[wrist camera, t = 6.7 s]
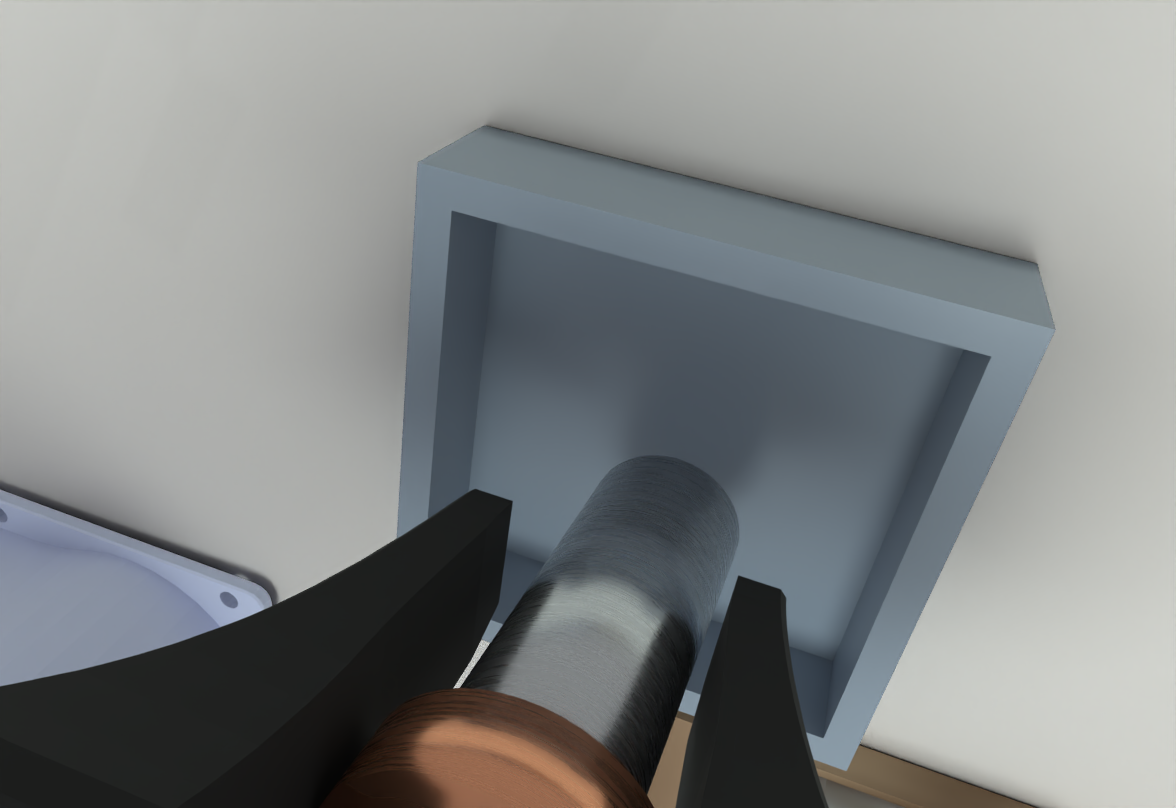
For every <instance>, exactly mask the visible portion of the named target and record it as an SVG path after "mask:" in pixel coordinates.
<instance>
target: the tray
mask: <svg viewBox="0 0 1176 808" xmlns="http://www.w3.org/2000/svg"><path fill="white" fill-rule="evenodd" d="M1055 330H1056V329H1055V326H1054V322H1053V319H1052V315H1051V311H1050V308H1049V304H1048V301H1047V297H1046V294H1045V290H1044V286H1043V283H1042V279H1041V276H1040V272H1039V268H1038V265H1037V264H1035V263H1031V262H1027V261H1023V260H1019V259H1015V258H1011V257H1007V256H1003V255H999V254H995V253H991V252H987V251H983V250H979V249H975V248H971V247H967V246H963V245H959V244H955V243H951V242H947V241H943V240H939V239H935V238H931V237H927V236H923V235H920V234H916V233H912V232H908V231H904V230H900V229H896V228H892V227H888V226H884V225H880V224H876V223H872V222H868V221H864V220H860V219H856V218H852V217H848V216H844V215H840V214H836V213H832V212H828V211H824V210H820V209H816V208H812V207H808V206H804V205H800V204H796V203H792V202H788V201H784V200H780V199H776V198H772V197H768V196H764V195H760V194H756V193H752V192H748V191H744V190H740V189H736V188H732V187H728V186H724V185H720V184H716V183H712V182H708V181H704V180H700V179H696V178H692V177H688V176H684V175H680V174H676V173H672V172H668V171H664V170H660V169H656V168H652V167H648V166H644V165H640V164H636V163H632V162H628V161H624V160H620V159H616V158H612V157H608V156H604V155H600V154H596V153H592V152H588V151H584V150H580V149H576V148H572V147H568V146H564V145H560V144H556V143H552V142H548V141H544V140H540V139H536V138H532V137H529V136H525V135H521V134H517V133H513V132H509V131H505V130H501V129H497V128H493V127H489V126H485V125H484V126H482V127H481V128H479V129H477V130H475V131H473V132H472V133H470V134H468V135H466V136H464V137H463V138H461V139H459V140H457V141H455V142H454V143H452V144H450V145H448V146H446V147H445V148H443V149H441V150H439V151H437V152H436V153H434V154H432V155H430V156H428V157H427V158H425V159H423V160H421V161H419V162H418V167H417V185H416V203H415V221H414V239H413V257H412V275H411V293H410V311H409V329H408V347H407V365H406V383H405V401H404V419H403V437H402V455H401V473H400V491H399V509H398V527H397V538H399V537H400V536H402V535H403V534H405V533H407V532H408V531H410V530H411V529H413V528H414V527H416V526H417V525H419V524H420V523H422V522H424V521H425V520H427V519H428V518H430V517H431V516H433V515H434V514H436V513H437V512H439V511H440V510H442V509H443V508H445V507H446V506H448V505H449V504H451V503H452V502H454V501H455V500H457V499H458V498H460V497H461V496H463V495H464V494H466V493H467V492H469V491H471V490H473V489H478V490H481V491H484V492H487V493H490V494H493V495H496V496H499V497H502V498H505V499H508V500H511V501H513V505H512V512H511V519H510V526H509V534H508V541H507V548H506V555H505V563H504V570H503V577H502V584H501V591H500V599H499V604H498V606H497V608H496V610H495V612H494V614H493V616H492V618H491V620H490V623H489V625H488V627H487V629H486V631H485V633H484V635H483V637H482V640H485V641H487V642H490V643H491V641H492V640H493V638H494V637H495V636H496V634H497V633H498V631H499V630H500V628H501V627H502V625H503V624H504V622H505V621H506V619H507V618H508V616H509V615H510V614H511V612H512V611H513V609H514V608H515V606H516V605H517V603H518V602H519V600H520V599H521V597H522V596H523V594H524V593H525V592H526V590H527V589H528V587H529V586H530V584H531V583H532V581H533V580H534V578H535V577H536V575H537V574H538V572H539V571H540V569H541V568H542V567H543V565H544V564H545V562H546V561H547V559H548V558H549V556H550V555H551V553H552V552H553V550H554V549H555V547H556V546H557V545H558V543H559V542H560V540H561V539H562V537H563V536H564V534H565V533H566V531H567V530H568V528H569V527H570V525H571V524H572V523H573V521H574V520H575V518H576V517H577V515H578V514H579V512H580V511H581V509H582V508H583V506H584V505H585V503H586V502H587V500H588V499H589V498H590V496H591V495H592V493H593V492H594V490H595V489H596V487H597V486H598V484H599V483H600V481H601V480H602V479H603V477H604V476H605V475H606V474H607V473H608V472H609V471H610V470H611V469H612V468H614V467H615V466H617V465H618V464H620V463H622V462H624V461H626V460H629V459H632V458H635V457H640V456H646V455H660V456H668V457H673V458H677V459H680V460H683V461H686V462H688V463H690V464H693V465H694V466H696V467H698V468H700V469H701V470H703V471H704V472H706V473H707V474H708V475H710V476H711V477H712V478H713V479H714V480H715V481H716V482H717V483H718V484H719V485H720V486H721V487H722V488H723V489H724V491H725V492H726V494H727V495H728V497H729V498H730V500H731V502H732V504H733V506H734V508H735V511H736V514H737V517H738V522H739V534H740V535H739V543H738V547H737V550H736V553H735V556H734V559H733V562H732V564H731V567H730V570H729V573H728V575H727V578H726V581H725V584H724V586H723V589H722V592H721V594H720V597H719V600H718V603H717V605H716V608H715V611H714V614H713V616H712V619H711V622H710V625H709V627H708V630H707V633H706V636H705V638H704V641H703V644H702V646H701V649H700V652H699V655H698V657H697V660H696V663H695V666H694V668H693V671H692V674H691V677H690V679H689V682H688V685H687V688H686V690H685V693H684V696H683V699H682V701H681V704H680V707H679V709H678V711H681V712H684V713H687V714H689V715H692V716H695V713H696V709H697V706H698V702H699V699H700V695H701V692H702V688H703V685H704V681H705V678H706V675H707V671H708V668H709V665H710V662H711V659H712V656H713V653H714V650H715V646H716V643H717V640H718V637H719V634H720V631H721V628H722V624H723V621H724V618H725V615H726V612H727V609H728V606H729V603H730V599H731V596H732V593H733V590H734V587H735V584H736V581H737V577H738V575H739V576H742V577H745V578H748V579H751V580H754V581H757V582H760V583H763V584H766V585H769V586H773V587H776V588H779V589H781V590H782V592H783V593H784V595H785V597H786V617H787V631H788V640H789V648H790V655H791V662H792V668H793V674H794V680H795V685H796V689H797V694H798V699H799V703H800V708H801V713H802V717H803V722H804V726H805V730H806V734H807V738H808V741H809V745H810V749H811V752H812V756H813V759H814V760H817V761H819V762H822V763H825V764H828V765H831V766H833V767H836V768H839V769H842V770H844V771H847V769H848V767H849V765H850V763H851V761H852V759H853V756H854V754H855V752H856V750H857V748H858V746H859V744H860V742H861V740H862V737H863V735H864V733H865V731H866V729H867V727H868V725H869V723H870V721H871V718H872V716H873V714H874V712H875V710H876V708H877V706H878V704H879V702H880V699H881V697H882V695H883V693H884V691H885V689H886V687H887V685H888V683H889V680H890V678H891V676H892V674H893V672H894V670H895V668H896V666H897V664H898V661H899V659H900V657H901V655H902V653H903V651H904V649H905V647H906V645H907V642H908V640H909V638H910V636H911V634H912V632H913V630H914V628H915V626H916V623H917V621H918V619H919V617H920V615H921V613H922V611H923V609H924V607H925V604H926V602H927V600H928V598H929V596H930V594H931V592H932V590H933V588H934V585H935V583H936V581H937V579H938V577H939V575H940V573H941V571H942V569H943V566H944V564H945V562H946V560H947V558H948V556H949V554H950V552H951V550H952V547H953V545H954V543H955V541H956V539H957V537H958V535H959V533H960V531H961V528H962V526H963V524H964V522H965V520H966V518H967V516H968V514H969V512H970V509H971V507H972V505H973V503H974V501H975V499H976V497H977V495H978V493H979V490H980V488H981V486H982V484H983V482H984V480H985V478H986V476H987V473H988V471H989V469H990V467H991V465H992V463H993V461H994V459H995V457H996V454H997V452H998V450H999V448H1000V446H1001V444H1002V442H1003V440H1004V438H1005V435H1006V433H1007V431H1008V429H1009V427H1010V425H1011V423H1012V421H1013V419H1014V416H1015V414H1016V412H1017V410H1018V408H1019V406H1020V404H1021V402H1022V400H1023V397H1024V395H1025V393H1026V391H1027V389H1028V387H1029V385H1030V383H1031V381H1032V378H1033V376H1034V374H1035V372H1036V370H1037V368H1038V366H1039V364H1040V362H1041V359H1042V357H1043V355H1044V353H1045V351H1046V349H1047V347H1048V345H1049V343H1050V340H1051V338H1052V336H1053V334H1054V332H1055Z"/></svg>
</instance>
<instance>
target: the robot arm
mask: <svg viewBox="0 0 1176 808" xmlns="http://www.w3.org/2000/svg"><path fill="white" fill-rule="evenodd" d="M512 505H513V501H511V500H508V499H505V498H502V497H499V496H496V495H493V494H490V493H487V492H484V491H481V490H478V489H473V490H471V491H469V492H467V493H466V494H464V495H463V496H461V497H460V498H458V499H457V500H455V501H454V502H452V503H451V504H449V505H448V506H446V507H445V508H443V509H442V510H440V511H439V512H437V513H436V514H434V515H433V516H431V517H430V518H428V519H427V520H425V521H424V522H422V523H420V524H419V525H417V526H416V527H414V528H413V529H411V530H410V531H408V532H407V533H405V534H403V535H402V536H400V537H399V538H397V539H395V540H394V541H392V542H390V543H389V544H387V545H385V546H384V547H382V548H381V549H379V550H377V551H376V552H374V553H372V554H371V555H369V556H367V557H366V558H364V559H362V560H361V561H359V562H357V563H355V564H353V565H352V566H350V567H348V568H346V569H344V570H342V571H341V572H339V573H337V574H335V575H333V576H331V577H329V578H328V579H326V580H324V581H322V582H320V583H318V584H317V585H315V586H313V587H311V588H309V589H307V590H305V591H303V592H301V593H299V594H297V595H295V596H293V597H291V598H288V599H286V600H284V601H282V602H280V603H278V604H275V605H273V606H272V602H271V598H270V596H269V594H268V593H267V591H266V590H265V589H264V588H262V587H261V586H259V585H258V584H256V583H253V582H250V581H248V580H245V579H242V578H240V577H237V576H234V575H231V574H229V573H226V572H223V571H220V570H218V569H215V568H212V567H210V566H207V565H204V564H201V563H199V562H196V561H193V560H191V559H188V558H185V557H182V556H180V555H177V554H174V553H171V552H169V551H166V550H163V549H161V548H158V547H155V546H152V545H150V544H147V543H144V542H142V541H139V540H136V539H133V538H131V537H128V536H125V535H122V534H120V533H117V532H114V531H112V530H109V529H106V528H103V527H101V526H98V525H95V524H92V523H90V522H87V521H84V520H82V519H79V518H76V517H73V516H71V515H68V514H65V513H63V512H60V511H57V510H54V509H52V508H49V507H46V506H43V505H41V504H38V503H35V502H33V501H30V500H27V499H24V498H22V497H19V496H16V495H14V494H11V493H8V492H5V491H3V490H0V808H319V807H320V805H321V804H322V803H323V801H324V800H325V798H326V797H327V796H328V794H329V793H330V792H331V790H332V789H333V788H334V786H335V785H336V784H337V782H338V781H339V780H340V779H341V777H342V776H343V775H344V773H345V772H346V771H347V769H348V768H349V767H350V765H351V764H352V763H353V761H354V760H355V759H356V757H357V756H358V755H359V753H360V752H361V751H362V749H363V748H364V747H365V745H366V744H367V743H368V741H369V740H370V739H371V737H372V736H373V735H374V733H375V732H376V731H377V729H378V728H379V727H380V725H381V724H382V723H383V721H384V720H385V719H386V717H387V716H388V715H389V714H390V713H391V712H392V711H394V710H395V709H396V708H397V707H398V706H399V705H401V704H403V703H404V702H406V701H408V700H409V699H411V698H414V697H416V696H419V695H422V694H424V693H428V692H432V691H437V690H442V689H453V687H454V686H455V684H456V683H457V681H458V680H459V678H460V677H461V675H462V674H463V672H464V670H465V669H466V667H467V666H468V664H469V662H470V661H471V659H472V657H473V655H474V653H475V651H476V649H477V647H478V645H479V643H480V641H481V639H482V637H483V635H484V633H485V631H486V629H487V627H488V625H489V623H490V620H491V618H492V616H493V614H494V612H495V610H496V608H497V606H498V604H499V599H500V591H501V584H502V577H503V570H504V563H505V555H506V548H507V541H508V534H509V526H510V519H511V512H512ZM675 808H829V807H828V804H827V801H826V798H825V795H824V792H823V789H822V786H821V783H820V780H819V776H818V773H817V770H816V766H815V763H814V759H813V756H812V752H811V749H810V745H809V741H808V738H807V734H806V730H805V726H804V722H803V717H802V713H801V708H800V703H799V699H798V694H797V689H796V685H795V680H794V674H793V668H792V662H791V655H790V648H789V640H788V631H787V617H786V597H785V595H784V593H783V592H782V590H781V589H779V588H776V587H773V586H769V585H766V584H763V583H760V582H757V581H754V580H751V579H748V578H745V577H742V576H739V575H738V577H737V581H736V584H735V587H734V590H733V593H732V596H731V599H730V603H729V606H728V609H727V612H726V615H725V618H724V621H723V624H722V628H721V631H720V634H719V637H718V640H717V643H716V646H715V650H714V653H713V656H712V659H711V662H710V665H709V668H708V671H707V675H706V678H705V681H704V685H703V688H702V692H701V695H700V699H699V702H698V706H697V709H696V713H695V716H694V719H693V723H692V726H691V730H690V733H689V737H688V741H687V746H686V751H685V757H684V762H683V768H682V773H681V779H680V784H679V790H678V795H677V801H676V807H675Z"/></svg>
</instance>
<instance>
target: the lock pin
mask: <svg viewBox="0 0 1176 808" xmlns="http://www.w3.org/2000/svg"><path fill="white" fill-rule="evenodd" d="M739 535H740V534H739V522H738V517H737V514H736V511H735V508H734V506H733V504H732V502H731V500H730V498H729V497H728V495H727V494H726V492H725V491H724V489H723V488H722V487H721V486H720V485H719V484H718V483H717V482H716V481H715V480H714V479H713V478H712V477H711V476H710V475H708V474H707V473H706V472H704V471H703V470H701V469H700V468H698V467H696V466H694V465H693V464H690V463H688V462H686V461H683V460H680V459H677V458H673V457H668V456H660V455H646V456H640V457H635V458H632V459H629V460H626V461H624V462H622V463H620V464H618V465H617V466H615V467H614V468H612V469H611V470H610V471H609V472H608V473H607V474H606V475H605V476H604V477H603V479H602V480H601V481H600V483H599V484H598V486H597V487H596V489H595V490H594V492H593V493H592V495H591V496H590V498H589V499H588V500H587V502H586V503H585V505H584V506H583V508H582V509H581V511H580V512H579V514H578V515H577V517H576V518H575V520H574V521H573V523H572V524H571V525H570V527H569V528H568V530H567V531H566V533H565V534H564V536H563V537H562V539H561V540H560V542H559V543H558V545H557V546H556V547H555V549H554V550H553V552H552V553H551V555H550V556H549V558H548V559H547V561H546V562H545V564H544V565H543V567H542V568H541V569H540V571H539V572H538V574H537V575H536V577H535V578H534V580H533V581H532V583H531V584H530V586H529V587H528V589H527V590H526V592H525V593H524V594H523V596H522V597H521V599H520V600H519V602H518V603H517V605H516V606H515V608H514V609H513V611H512V612H511V614H510V615H509V616H508V618H507V619H506V621H505V622H504V624H503V625H502V627H501V628H500V630H499V631H498V633H497V634H496V636H495V637H494V638H493V640H492V641H491V643H490V644H489V646H488V647H487V649H486V650H485V652H484V653H483V655H482V656H481V658H480V659H479V661H478V662H477V663H476V665H475V666H474V668H473V669H472V671H471V672H470V674H469V675H468V677H467V678H466V680H465V681H464V683H463V684H462V685H461V687H460V688H455V689H442V690H437V691H432V692H428V693H424V694H422V695H419V696H416V697H414V698H411V699H409V700H408V701H406V702H404V703H403V704H401V705H399V706H398V707H397V708H396V709H395V710H394V711H392V712H391V713H390V714H389V715H388V716H387V717H386V719H385V720H384V721H383V723H382V724H381V725H380V727H379V728H378V729H377V731H376V732H375V733H374V735H373V736H372V737H371V739H370V740H369V741H368V743H367V744H366V745H365V747H364V748H363V749H362V751H361V752H360V753H359V755H358V756H357V757H356V759H355V760H354V761H353V763H352V764H351V765H350V767H349V768H348V769H347V771H346V772H345V773H344V775H343V776H342V777H341V779H340V780H339V781H338V782H337V784H336V785H335V786H334V788H333V789H332V790H331V792H330V793H329V794H328V796H327V797H326V798H325V800H324V801H323V803H322V804H321V805H320V807H319V808H654V807H653V805H652V803H651V801H650V800H649V798H648V796H647V794H648V792H649V789H650V786H651V783H652V781H653V778H654V775H655V772H656V770H657V767H658V764H659V762H660V759H661V756H662V753H663V751H664V748H665V745H666V742H667V740H668V737H669V734H670V731H671V729H672V726H673V723H674V720H675V718H676V715H677V712H678V709H679V707H680V704H681V701H682V699H683V696H684V693H685V690H686V688H687V685H688V682H689V679H690V677H691V674H692V671H693V668H694V666H695V663H696V660H697V657H698V655H699V652H700V649H701V646H702V644H703V641H704V638H705V636H706V633H707V630H708V627H709V625H710V622H711V619H712V616H713V614H714V611H715V608H716V605H717V603H718V600H719V597H720V594H721V592H722V589H723V586H724V584H725V581H726V578H727V575H728V573H729V570H730V567H731V564H732V562H733V559H734V556H735V553H736V550H737V547H738V543H739Z"/></svg>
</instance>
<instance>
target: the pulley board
mask: <svg viewBox="0 0 1176 808" xmlns="http://www.w3.org/2000/svg"><path fill="white" fill-rule="evenodd" d="M693 719H694V716H692V715H689V714H687V713H684V712H681V711H678V712H677V715H676V718H675V720H674V723H673V726H672V729H671V731H670V734H669V737H668V740H667V742H666V745H665V748H664V751H663V753H662V756H661V759H660V762H659V764H658V767H657V770H656V772H655V775H654V778H653V781H652V783H651V786H650V789H649V792H648V794H647V796H648V798H649V800H650V801H651V803H652V805H653V807H654V808H675V807H676V801H677V795H678V790H679V784H680V779H681V773H682V768H683V762H684V757H685V751H686V746H687V741H688V737H689V733H690V730H691V726H692V723H693ZM814 763H815V766H816V770H817V773H818V776H819V780H820V783H821V786H822V789H823V792H824V795H825V798H826V801H827V804H828V807H829V808H1035V807H1032V806H1029V805H1026V804H1023V803H1021V802H1018V801H1015V800H1012V799H1009V798H1007V797H1004V796H1001V795H998V794H995V793H992V792H990V791H987V790H984V789H981V788H978V787H976V786H973V785H970V784H967V783H964V782H962V781H959V780H956V779H953V778H950V777H947V776H945V775H942V774H939V773H936V772H933V771H931V770H928V769H925V768H922V767H919V766H916V765H914V764H911V763H908V762H905V761H902V760H900V759H897V758H894V757H891V756H888V755H886V754H883V753H880V752H877V751H874V750H871V749H869V748H866V747H863V746H860V745H859V746H858V748H857V750H856V752H855V754H854V756H853V759H852V761H851V763H850V765H849V767H848V769H847V771H844V770H842V769H839V768H836V767H833V766H831V765H828V764H825V763H822V762H819V761H817V760H814Z"/></svg>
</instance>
